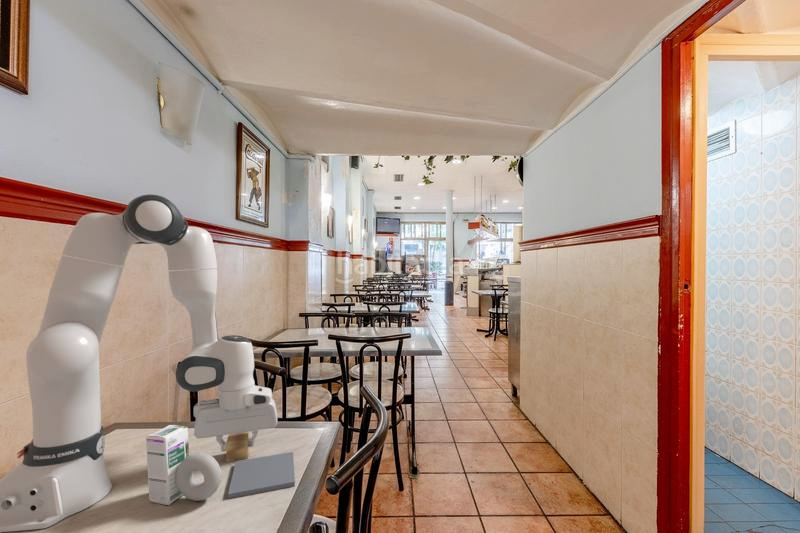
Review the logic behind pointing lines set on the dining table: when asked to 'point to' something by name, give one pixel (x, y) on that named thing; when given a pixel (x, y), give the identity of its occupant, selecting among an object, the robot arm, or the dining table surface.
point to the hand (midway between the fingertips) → (238, 448)
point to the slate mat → (262, 475)
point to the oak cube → (237, 446)
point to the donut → (189, 483)
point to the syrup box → (165, 462)
